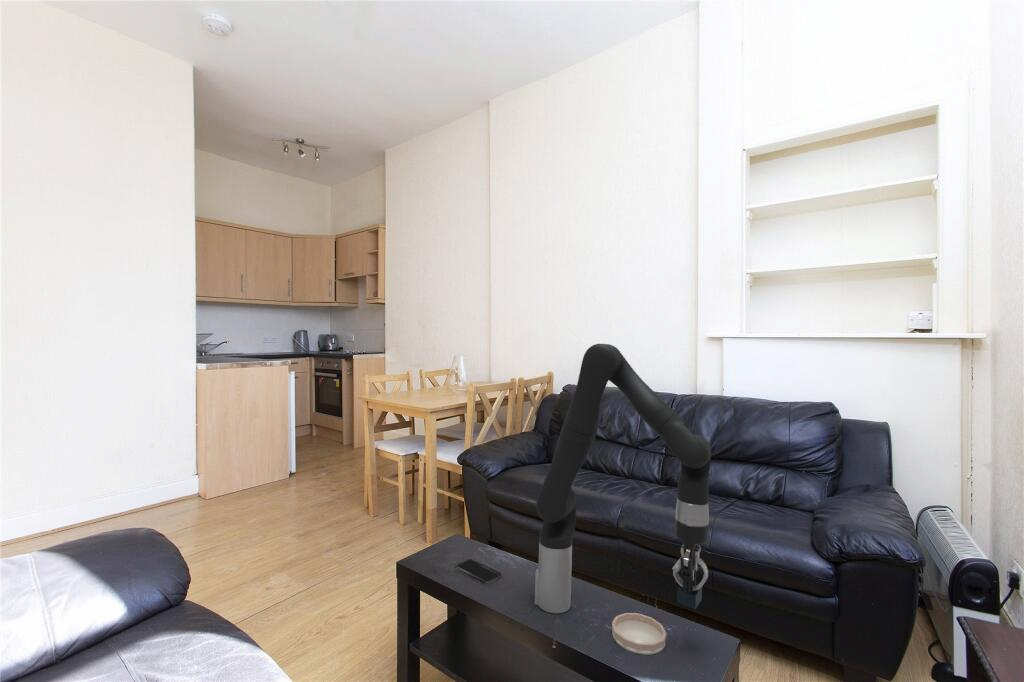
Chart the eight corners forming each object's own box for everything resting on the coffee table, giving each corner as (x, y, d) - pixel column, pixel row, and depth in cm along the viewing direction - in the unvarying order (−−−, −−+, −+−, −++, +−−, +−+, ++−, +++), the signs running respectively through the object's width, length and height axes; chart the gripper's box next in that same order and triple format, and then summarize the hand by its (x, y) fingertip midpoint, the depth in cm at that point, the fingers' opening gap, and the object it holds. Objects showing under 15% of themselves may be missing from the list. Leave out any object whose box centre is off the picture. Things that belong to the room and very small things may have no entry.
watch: (675, 590, 113) (677, 546, 114) (709, 602, 108) (711, 556, 109) (668, 599, 109) (670, 554, 109) (703, 612, 104) (704, 565, 104)
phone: (485, 583, 135) (453, 565, 145) (485, 587, 134) (453, 569, 145) (503, 574, 140) (471, 558, 150) (503, 577, 140) (471, 561, 150)
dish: (605, 642, 110) (605, 632, 110) (621, 616, 121) (621, 607, 121) (658, 661, 103) (659, 651, 103) (670, 632, 114) (670, 623, 114)
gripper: (681, 507, 117) (678, 573, 117) (669, 524, 105) (666, 598, 105) (712, 513, 113) (709, 582, 113) (704, 532, 101) (701, 609, 101)
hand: (689, 589), depth 109 cm, fingers closed on watch, 3 cm apart
